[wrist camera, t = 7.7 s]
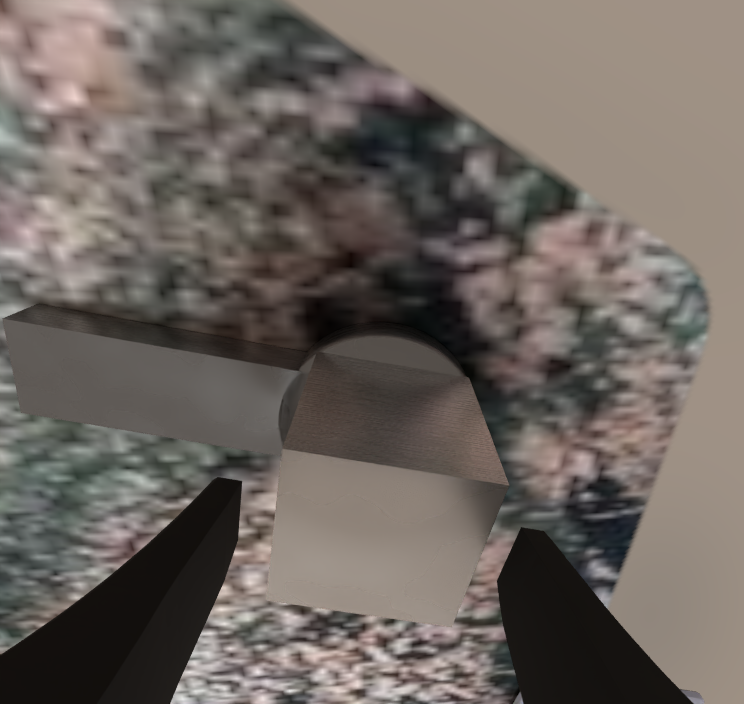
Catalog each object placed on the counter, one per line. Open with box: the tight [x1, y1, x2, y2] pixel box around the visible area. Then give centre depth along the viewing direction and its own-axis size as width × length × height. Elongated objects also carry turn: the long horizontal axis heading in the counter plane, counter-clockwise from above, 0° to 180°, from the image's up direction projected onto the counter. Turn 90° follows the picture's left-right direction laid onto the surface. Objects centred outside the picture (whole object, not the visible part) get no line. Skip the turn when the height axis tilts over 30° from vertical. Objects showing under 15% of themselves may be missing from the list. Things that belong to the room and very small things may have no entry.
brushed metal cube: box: [266, 351, 509, 627], centre depth 12 cm, size 5×5×5 cm
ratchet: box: [3, 304, 466, 456], centre depth 14 cm, size 16×7×4 cm, turn 80°
